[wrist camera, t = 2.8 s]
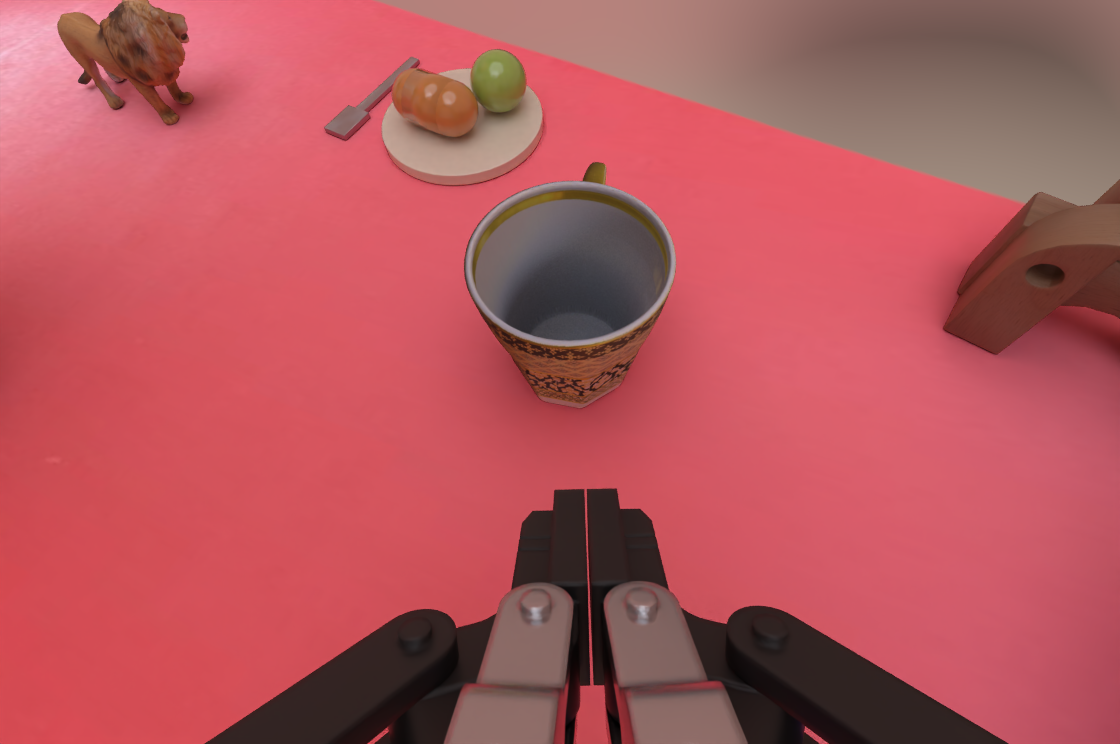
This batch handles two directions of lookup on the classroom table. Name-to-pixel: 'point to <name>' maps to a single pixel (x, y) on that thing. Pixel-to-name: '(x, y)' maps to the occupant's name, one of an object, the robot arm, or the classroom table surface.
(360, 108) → the metal spatula
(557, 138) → the classroom table surface
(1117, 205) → the wooden toy
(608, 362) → the ceramic cup
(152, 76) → the lion figurine
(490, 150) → the lunch plate
